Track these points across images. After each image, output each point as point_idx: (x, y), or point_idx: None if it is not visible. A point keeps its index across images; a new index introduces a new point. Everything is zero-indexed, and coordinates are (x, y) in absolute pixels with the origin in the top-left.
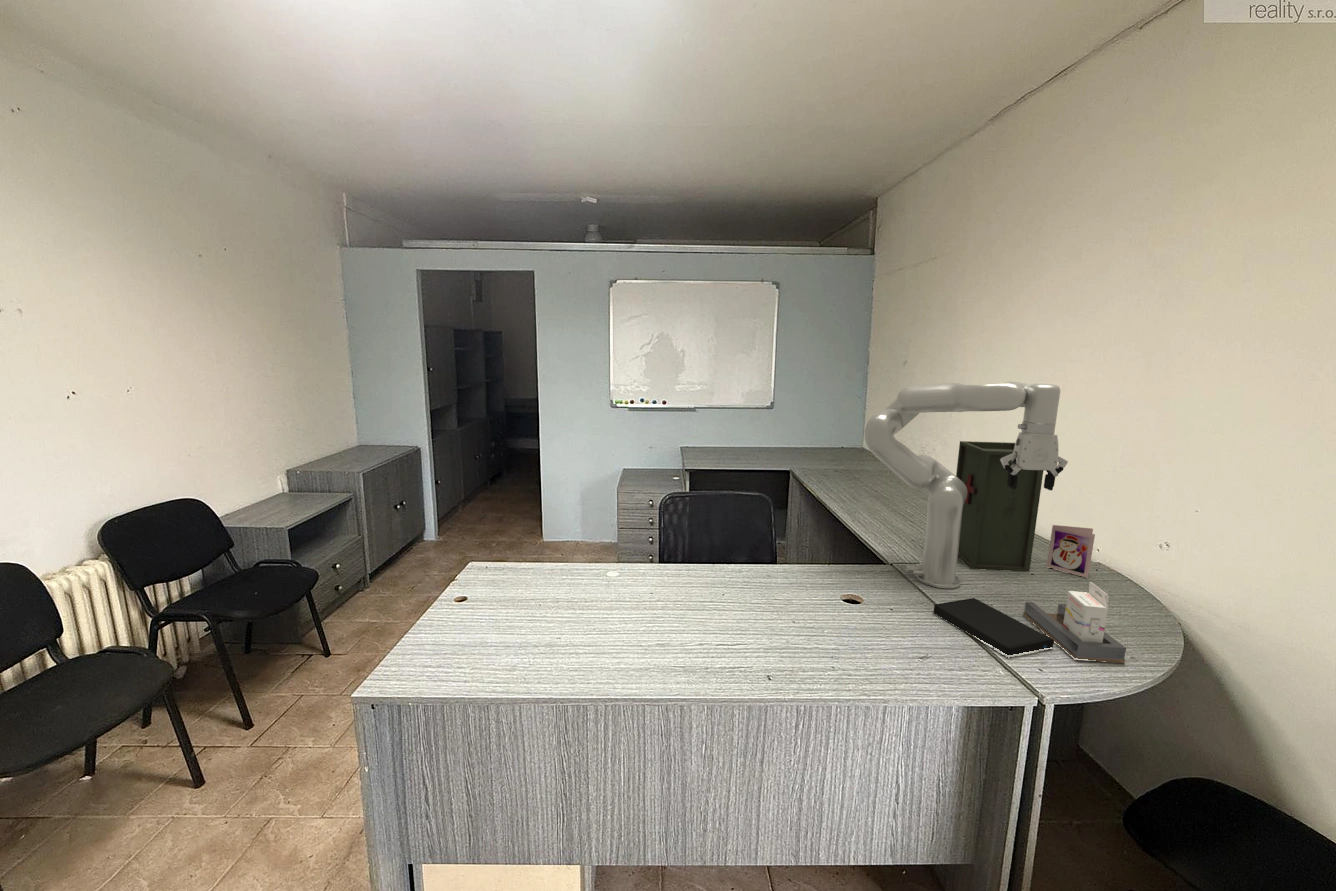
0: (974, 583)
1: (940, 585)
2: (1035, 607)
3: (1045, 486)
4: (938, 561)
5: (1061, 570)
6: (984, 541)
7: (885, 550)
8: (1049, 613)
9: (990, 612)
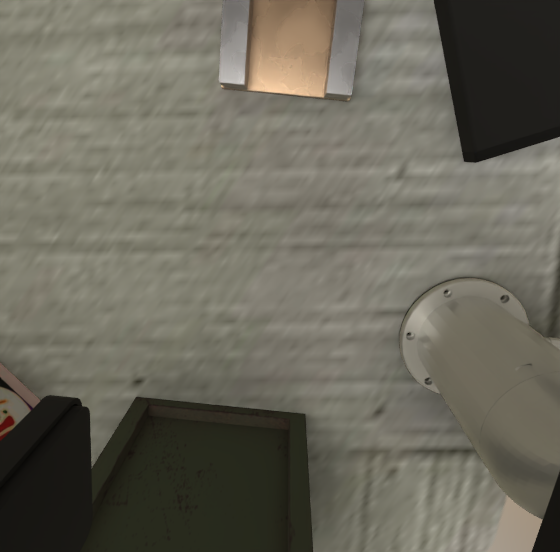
0: (356, 318)
1: (495, 284)
2: (346, 50)
3: (79, 514)
4: (536, 332)
5: (35, 400)
6: (263, 485)
7: (487, 534)
8: (270, 91)
9: (499, 48)
